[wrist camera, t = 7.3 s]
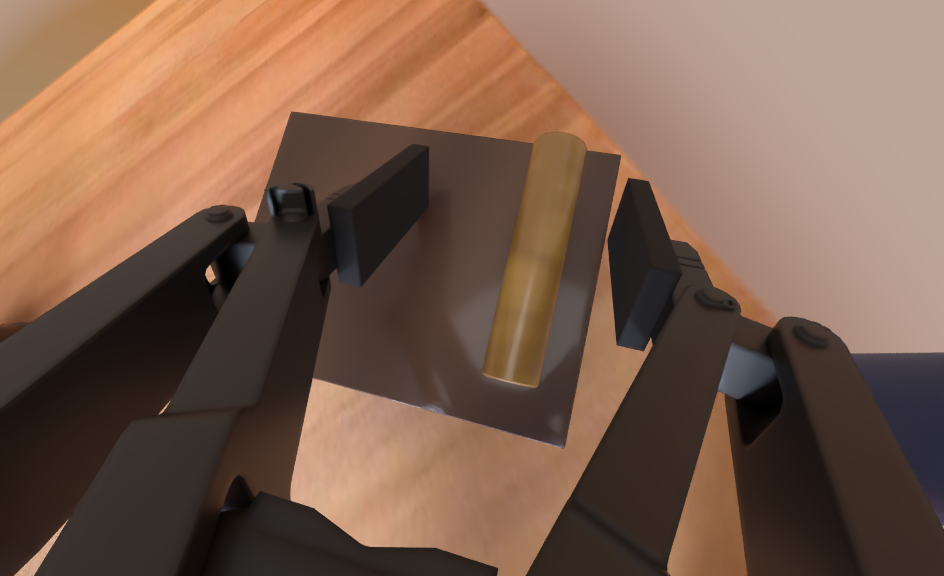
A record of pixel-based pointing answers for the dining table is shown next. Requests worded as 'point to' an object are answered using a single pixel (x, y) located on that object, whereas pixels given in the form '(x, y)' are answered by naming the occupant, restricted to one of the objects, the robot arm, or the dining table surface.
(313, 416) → the dining table surface
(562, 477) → the dining table surface
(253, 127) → the dining table surface
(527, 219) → the chest door
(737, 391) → the robot arm
